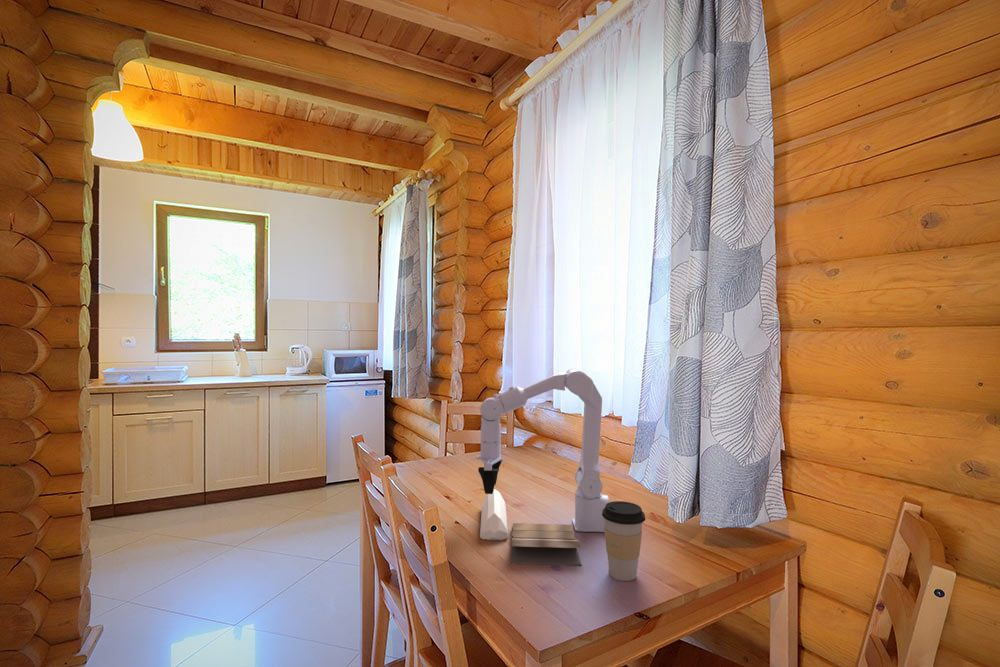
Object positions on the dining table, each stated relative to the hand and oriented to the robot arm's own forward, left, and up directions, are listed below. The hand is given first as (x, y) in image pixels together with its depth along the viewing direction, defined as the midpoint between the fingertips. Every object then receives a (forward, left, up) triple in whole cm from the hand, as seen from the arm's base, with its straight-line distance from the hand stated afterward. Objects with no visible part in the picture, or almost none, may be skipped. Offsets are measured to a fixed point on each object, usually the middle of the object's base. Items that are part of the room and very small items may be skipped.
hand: (490, 489), depth 131 cm
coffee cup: (-31, +26, -10) cm, 42 cm away
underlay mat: (-14, +12, -10) cm, 21 cm away
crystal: (-1, 0, -10) cm, 10 cm away
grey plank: (-14, +17, -8) cm, 24 cm away
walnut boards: (-14, +8, -10) cm, 19 cm away
